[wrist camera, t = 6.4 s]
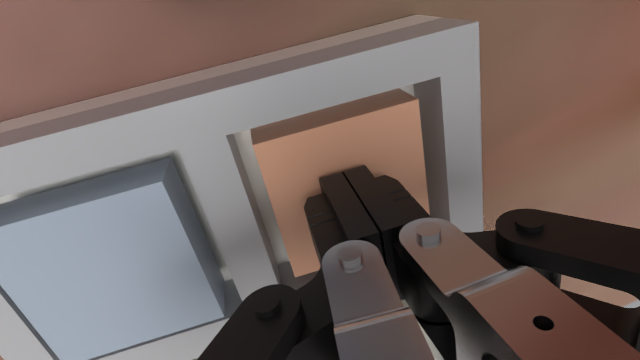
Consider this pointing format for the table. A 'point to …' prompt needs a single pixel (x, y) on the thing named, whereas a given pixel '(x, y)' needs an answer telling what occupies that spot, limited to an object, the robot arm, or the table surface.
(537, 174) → the table surface
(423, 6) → the table surface
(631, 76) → the table surface
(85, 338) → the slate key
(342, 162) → the terracotta key
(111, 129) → the keypad
